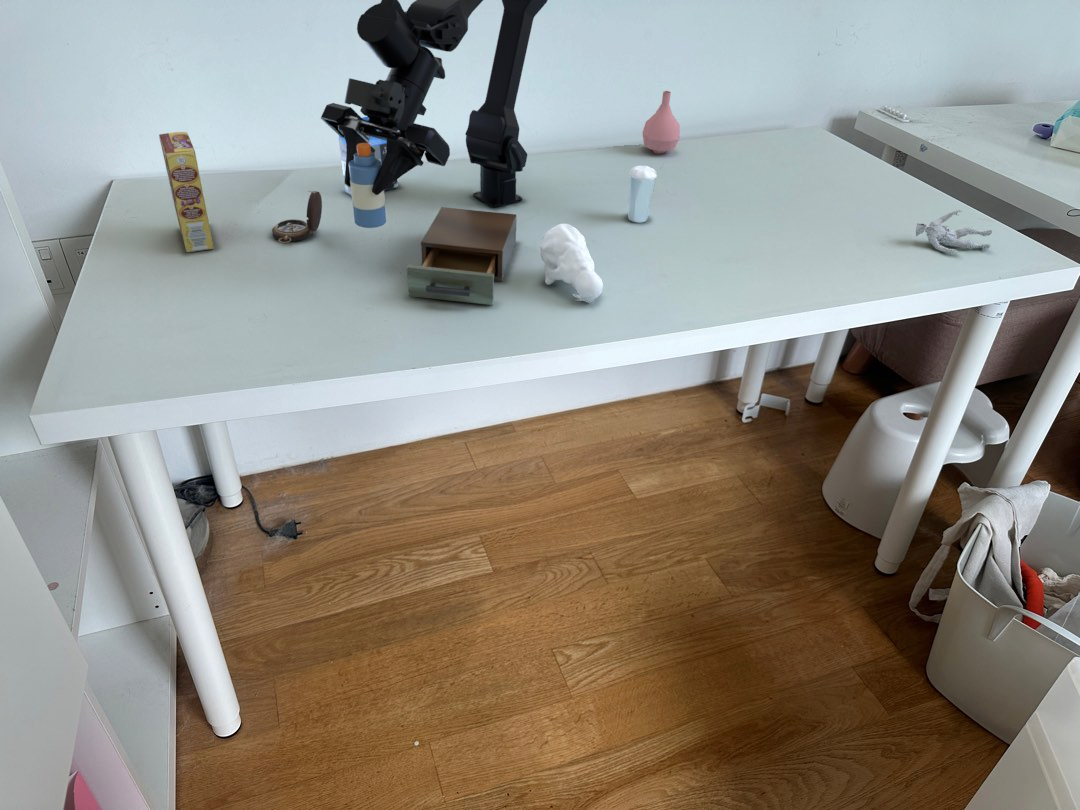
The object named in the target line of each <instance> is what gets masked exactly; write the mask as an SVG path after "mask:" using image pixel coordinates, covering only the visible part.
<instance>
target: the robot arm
mask: <svg viewBox="0 0 1080 810" xmlns="http://www.w3.org/2000/svg"><path fill="white" fill-rule="evenodd" d="M483 1H484V0H414V1H413V2H412V3H410V5H409V7H408V8H407V9H406V11H405V10H404V9H403V6H402V4H401V3H400V1H399V0H380V2H379V3H376V4H374V5H372V6H370V7H369V8H368V9H367V10H366V11H364V13H362V14H361V15H360V16H359V19H358V21H357V24H356V25H357V26H356V30H357V31H356V32H357V35H358V37H359V38H360V39H361V40H362V42H363V43H364V44H365V45H366V46H367V48H368V49H369V50H370V51H371V53H373V54H374V55H375V57H376V58H377V59H378V60H379V62H380V63H381V64H382V65H383V66H385V67H386V68H389V69H390V70H389V72H388V75H387V76H386V79H385V80H383V79H378V80H377V81H376V82H375V83H372V82H368V81H363V80H360V79H355V78H350V77H349V78H348V82H347V87H346V93H345V98H344V102H343V103H344V104H346V105H354V106H356V107H360V112H361V114H362V115H363V116H364V117H367V116H368V118H369V120H368V121H367V120H363V119H362V117H361V115H359V114H358V112H356V111H355V109H353V107H350V106H346V105H344V104H339V103H335V102H332V103H328V104H326V106H325V107H324V109H323V112H322V114H321V116H320V119H321V120H322V121H323V122H324V123H325V124H326V125H327V126H328V127H329V128H331V130H333V131H334V132H335V133H336V134H337V135H338V137H339V136H340V137H342V138H344V139H345V141H346V168H345V184H346V185H347V186H348V187H351V185H350V172H349V162H350V161H352V160H354V154H355V153H356V152H357V144H359V143H369V140H370V136H371V137H375V138H379V139H382V140H386V141H387V153H386V156H385V158H384V161H383V163H382V165H381V168H380V170H379V172H378V175H377V177H376V179H375V182H374V185H373V188H372V192H373V193H374V194H375V195H378V194H380V193H381V192H382V191H383V190H384V191H386V190H385V189H386V188H387V187H388V186H390V185H391V184H392V183H393V182H394V181H396V180H397V181H398V179H400V178H401V177H403V176H404V175H405V174H407V173H409V172H410V171H412V169H414V168H415V167H418V166H420V167H423V165H424V161H423V160H422V159H423V157H424V156H425V159H426V161H427V163H430V164H433V165H437V166H440V167H445V166H446V164H447V163H448V160H449V158H450V156H451V149H450V145H449V144H448V142H446V140H445V139H444V138H443V137H442V135H441V134H440V133H439V132H438V131H437V130H436V129H435V128H434V127H432V126H431V127H430V126H426V125H424V124H419V123H415V122H416V120H417V117H418V116H419V115H420V116H425V114H426V112H427V108H426V107H425V105H424V102H425V100H426V98H427V95H428V92H429V90H430V88H431V85H432V84H433V82H434V79H440V80H444V79H446V71H445V68H444V66H443V59H442V58H441V57H439V56H435V55H434V53H433V52H432V51H431V50H430V49H432V50H438V51H442V52H447V53H448V52H449V53H451V52H453V51H454V50H456V49H457V48H458V46H459V45H460V43H461V42H462V40H463V38H464V37H465V35H466V34H467V32H468V31H469V18H470V16H471V15H472V13H473V12H474V11H475V10H476V9H477V8H478V7H479V6H480V5H481V3H483ZM547 2H548V0H501V3H502V7H503V12H502V17H501V22H500V27H499V31H498V37H497V41H496V46H495V51H494V56H493V61H492V66H491V71H490V76H489V81H488V86H487V91H486V96H485V101H484V103H483V104H482V105H481V106H480V108H478V109H477V110H476V109H473V110H472V111H471V112H470V114H469V116H468V117H469V118H468V125H467V129H466V131H465V133H464V134H465V146H466V149H467V154H468V157H469V162H470V164H473V165H474V164H476V165H478V166H479V168H480V169H479V171H480V172H479V173H480V174H479V175H480V177H479V178H480V179H479V180H480V181H479V183H480V185H479V186H480V187H479V189H480V191H476V192H473V193H472V196H473V197H474V198H476V200H478V201H481V202H482V203H484V204H485V205H486V206H488V207H490V208H493V209H495V208H499V207H503V206H507V205H511V204H515V203H518V202H522V201H523V197H522V196H520V195H518V194H517V178H516V177H517V174H516V173H517V172H518V173H521V172H523V171H524V168H525V167H526V164H527V159H528V152H527V151H526V150H525V148H524V147H523V145H522V144H521V142H520V141H519V135H520V125H519V122H518V119H517V115H516V112H515V107H516V102H517V98H518V93H519V88H520V84H521V78H522V74H523V69H524V64H525V60H526V55H527V51H528V47H529V41H530V37H531V32H532V27H533V23H534V19H535V17H536V16H537V14H538V13H539V12H540V11H541V10H542V9H543V7H544V6H545V5H546V4H547ZM377 130H378V131H377ZM370 147H371V152H373V153H374V152H375V149H374V148H373V147H372V146H371V145H370Z"/></svg>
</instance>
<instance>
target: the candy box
mask: <svg viewBox="0 0 1080 810" xmlns="http://www.w3.org/2000/svg"><path fill="white" fill-rule="evenodd" d="M158 137H159V142H160V146H161V151H162V155H163V160H164V165H165V170H166V173H167V178H168V182H169V183H168V184H169V187H170V191H171V196H172V201H173V205H174V209H175V215H176V218H177V222H178V226H179V231H180V234H181V237H182V241H183V245H184V249H185V252H187V253H193V252H201V251H208V250H214V243H213V237H212V233H211V232H212V231H211V227H210V222H209V217H208V211H207V207H206V201H205V200H206V199H205V196H204V190H203V186H202V185H203V184H202V181H201V180H202V179H201V176H200V170H199V164H198V161H197V154H196V150H195V148H194V145H193V143H192V140H191V138H190V136H189V132H187V131H174V132H167V133H160V134H158Z"/></svg>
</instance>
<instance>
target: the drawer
mask: <svg viewBox="0 0 1080 810" xmlns="http://www.w3.org/2000/svg"><path fill="white" fill-rule="evenodd" d="M497 267H498V254H490V253H481V252H471V251H461V250H451V249H442V248H432V249H431V251H430V253H429V254H428V256H427V258H426V260H425V262H424V263H423V265H422V264H421V265H413V264H408V265H407V267H406V276H407V290H408V291H407V292H408V297H414V298H424V299H433V300H434V299H435V300H441V301H442V300H444V301H452V302H461V303H471V304H480V305H489V306H493V304H494V301H495V281H494V275H495V272H496V270H497Z"/></svg>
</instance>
